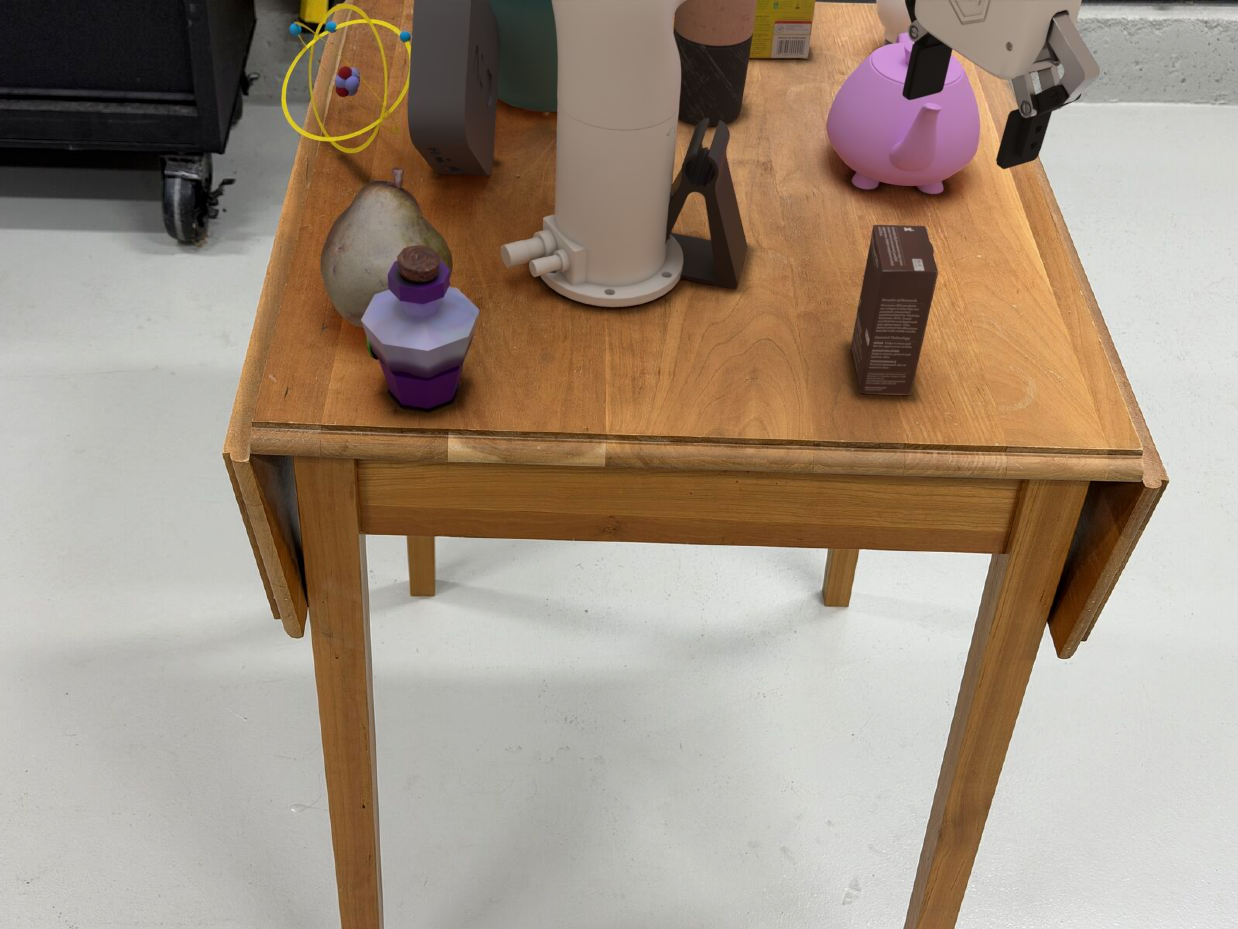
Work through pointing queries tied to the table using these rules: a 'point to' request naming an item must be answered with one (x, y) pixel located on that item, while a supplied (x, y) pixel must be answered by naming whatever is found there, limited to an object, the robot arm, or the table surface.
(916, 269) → the box
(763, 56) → the crayon box
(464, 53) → the streaming box
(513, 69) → the flower pot
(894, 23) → the light bulb
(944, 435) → the table surface
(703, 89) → the travel mug
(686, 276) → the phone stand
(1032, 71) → the robot arm
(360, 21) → the atom model
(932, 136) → the teapot
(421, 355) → the potion bottle
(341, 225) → the fruit
